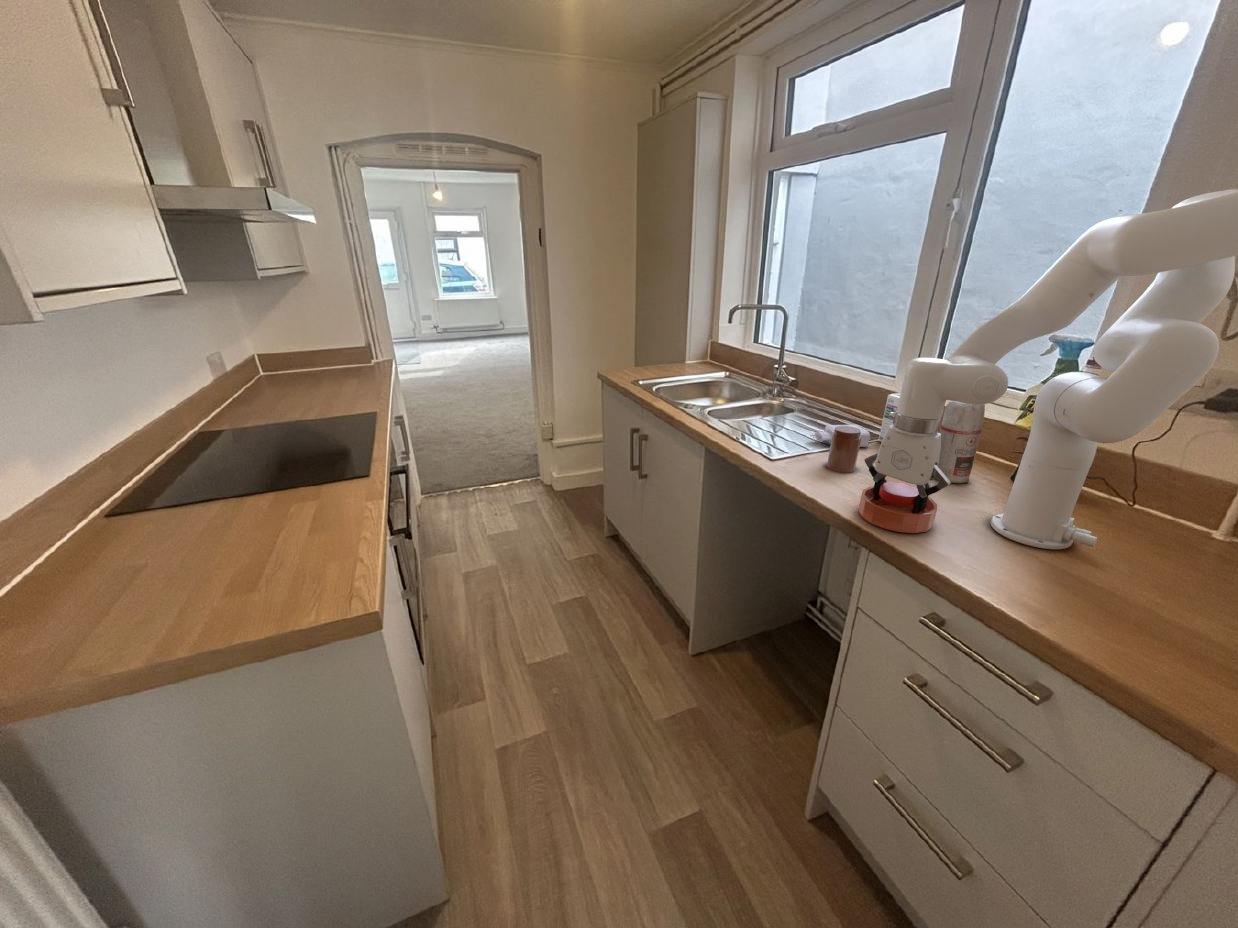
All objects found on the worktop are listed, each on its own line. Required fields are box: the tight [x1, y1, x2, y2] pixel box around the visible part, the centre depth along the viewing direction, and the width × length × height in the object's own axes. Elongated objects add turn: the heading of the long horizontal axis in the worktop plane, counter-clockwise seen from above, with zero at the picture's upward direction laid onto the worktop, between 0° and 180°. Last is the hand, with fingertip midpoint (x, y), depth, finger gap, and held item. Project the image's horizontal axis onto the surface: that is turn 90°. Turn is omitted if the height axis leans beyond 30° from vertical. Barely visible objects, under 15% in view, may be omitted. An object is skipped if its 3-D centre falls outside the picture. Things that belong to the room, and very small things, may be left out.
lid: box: [879, 481, 919, 505], centre depth 99 cm, size 7×7×2 cm
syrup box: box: [878, 392, 901, 443], centre depth 141 cm, size 6×6×14 cm
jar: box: [826, 426, 861, 474], centre depth 125 cm, size 7×7×11 cm
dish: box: [858, 485, 938, 534], centre depth 100 cm, size 14×14×4 cm
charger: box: [810, 424, 871, 448], centre depth 143 cm, size 5×9×15 cm
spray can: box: [938, 400, 986, 484], centre depth 116 cm, size 8×8×20 cm
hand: (896, 504), depth 100 cm, fingers closed on lid, 7 cm apart
